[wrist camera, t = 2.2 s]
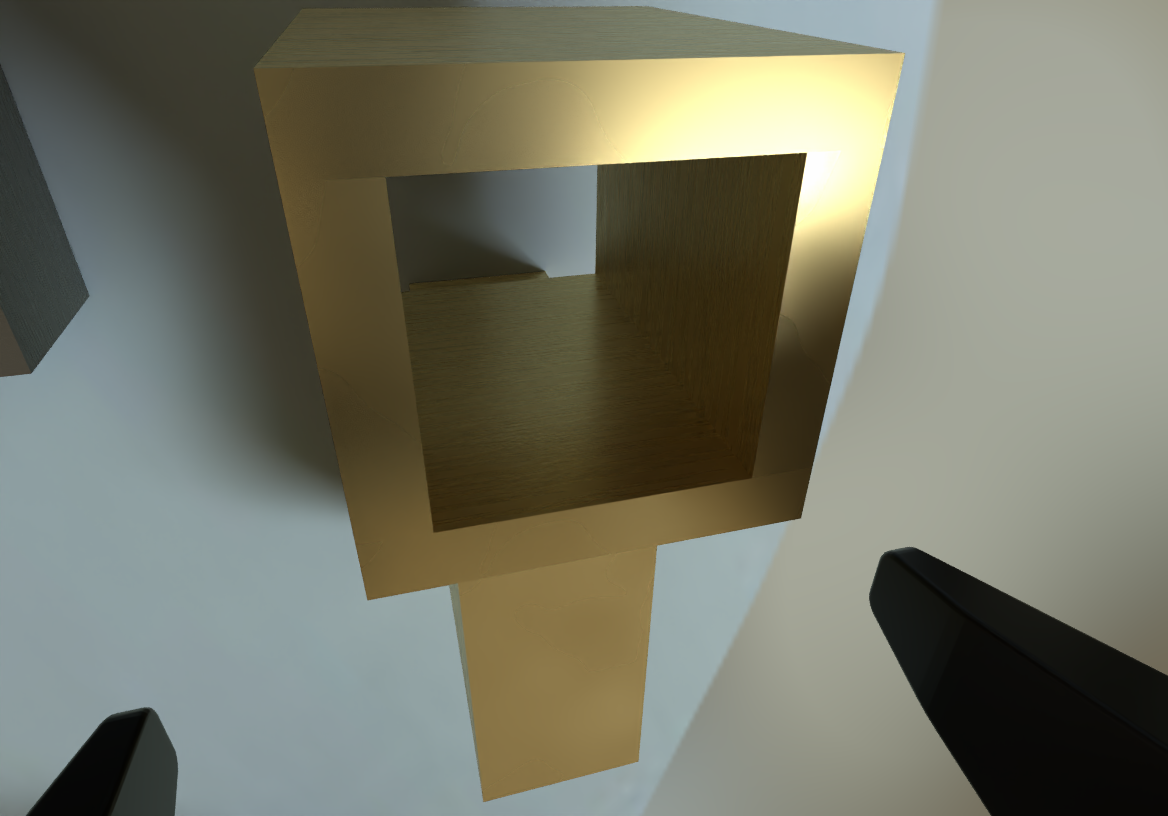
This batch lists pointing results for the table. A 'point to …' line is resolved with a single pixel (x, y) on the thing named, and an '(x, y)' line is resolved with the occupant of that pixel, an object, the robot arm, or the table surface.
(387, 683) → the table surface
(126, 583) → the table surface
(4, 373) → the block with metal peg
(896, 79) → the square hoop paddle
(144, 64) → the table surface
